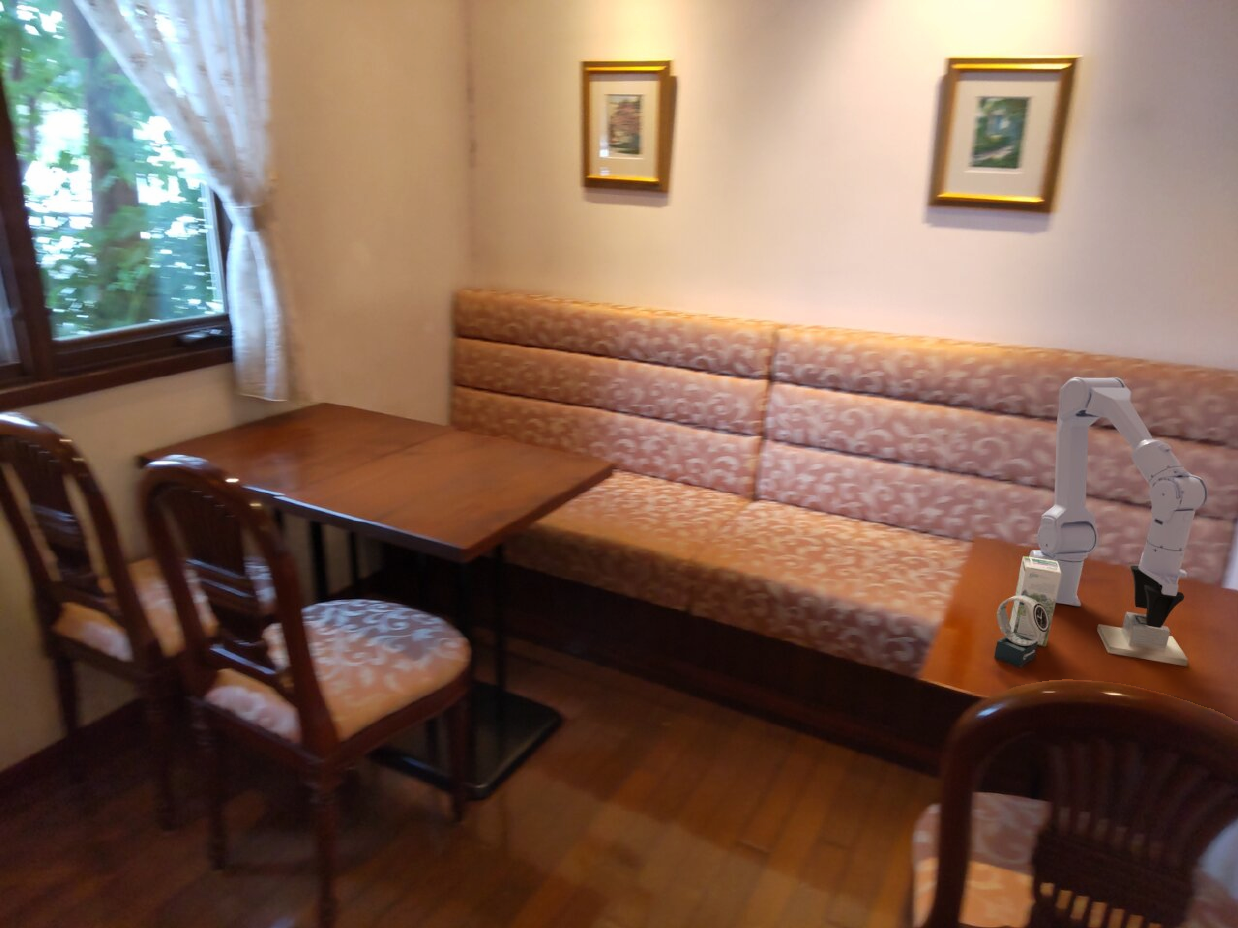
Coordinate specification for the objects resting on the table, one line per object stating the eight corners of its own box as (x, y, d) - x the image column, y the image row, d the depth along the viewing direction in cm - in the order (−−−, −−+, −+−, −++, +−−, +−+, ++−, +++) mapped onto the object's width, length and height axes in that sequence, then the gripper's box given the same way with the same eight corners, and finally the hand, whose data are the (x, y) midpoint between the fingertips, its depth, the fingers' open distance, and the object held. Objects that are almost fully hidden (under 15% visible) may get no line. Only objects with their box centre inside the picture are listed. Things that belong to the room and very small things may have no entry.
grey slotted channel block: (1128, 645, 148) (1133, 624, 147) (1121, 631, 153) (1126, 611, 152) (1164, 651, 147) (1170, 631, 146) (1156, 637, 152) (1161, 617, 151)
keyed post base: (1108, 652, 148) (1114, 625, 147) (1097, 630, 156) (1103, 604, 155) (1186, 666, 145) (1193, 638, 143) (1171, 642, 153) (1177, 616, 151)
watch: (1030, 672, 140) (1043, 612, 137) (984, 652, 146) (995, 594, 143) (1046, 662, 144) (1058, 603, 140) (999, 643, 149) (1011, 586, 146)
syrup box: (1042, 633, 154) (1057, 559, 150) (1046, 648, 149) (1062, 571, 144) (1008, 627, 156) (1022, 553, 152) (1011, 641, 150) (1026, 565, 146)
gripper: (1206, 563, 137) (1186, 639, 141) (1179, 533, 150) (1161, 603, 154) (1157, 556, 139) (1138, 631, 143) (1134, 527, 152) (1118, 596, 156)
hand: (1147, 616), depth 149 cm, fingers open, 7 cm apart
